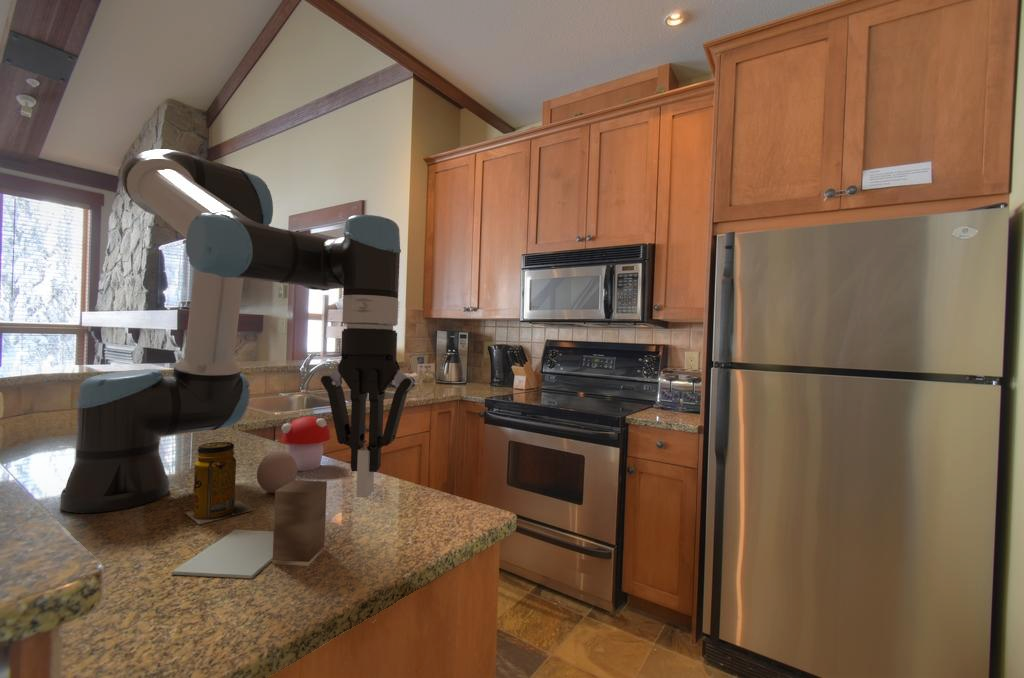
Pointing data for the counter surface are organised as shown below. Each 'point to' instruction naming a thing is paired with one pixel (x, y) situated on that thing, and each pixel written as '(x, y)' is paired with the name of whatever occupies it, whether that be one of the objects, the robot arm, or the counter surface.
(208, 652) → the counter surface
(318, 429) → the mushroom
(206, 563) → the mat
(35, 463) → the counter surface
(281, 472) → the egg
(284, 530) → the block
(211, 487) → the condiment
